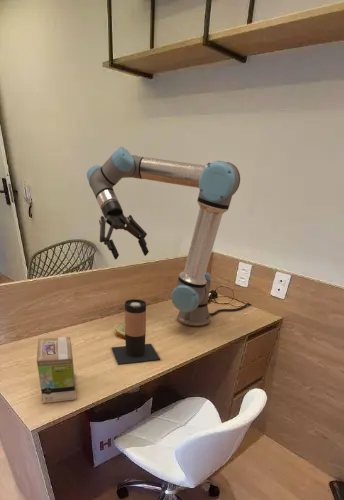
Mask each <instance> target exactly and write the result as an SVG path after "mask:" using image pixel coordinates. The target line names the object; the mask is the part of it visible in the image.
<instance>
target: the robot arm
mask: <svg viewBox="0 0 344 500" xmlns="http://www.w3.org/2000/svg"><path fill="white" fill-rule="evenodd" d="M86 178H87V181H88V184H89V187H90V188H91V190H92V192H93V195H94V197H95V199H96V201H97V204H98V206H99V208H100V210H101V213H102V215H101V216H100V218H99V220H98V223H99V242H100V243H103V244H104V245H105V246H106V247H107V249H108V251H110V252H111V254H112V256H113V258H114V260H117V259H118V258H119V256H120V254H119V251H118V250H117V247H116V245H115V242H114V241H113V239H111V237H112V235H113V231H114V230H115V231H117V230H123V231H126V232H128V233H129V234H130V235H132V236H133V237H134V238H136V239H137V242H138V245H139V247H140V249H141V251H142V253H143V256H145V257H146V256H147V255H148V254H149V253H150V251H149V249H148V246H147V245H148V243H147V242H146V239H145V238H146V237H147V235H148V233H147V232H146V230H144V228H143V227H141V226H140V224H138V223H137V221H136V220H135V219H134V218H133V216H132V215H131V214H128V216H125V215H124V211H123V208H122V206H121V203H120V201H119V199H118V197H117V195H116V192H115V191H114V187H115V186H116V185H117V184H118V183H119V182H120V181H122V179H125V178H131V179H139V180H146V181H154V182H158V183H165V184H171V185H177V186H183V187H184V186H185V187H189V188H190V187H191V188H198V189H199V191H198V196H197V201H196V202H197V204H198V206H199V210H198V213H197V218H196V221H195V226H194V230H193V234H192V237H191V241H190V246H189V249H188V252H187V257H186V261H185V264H184V265H185V266H184V269H183V271H181V272H179V274H178V278H177V282H176V286H175V287H174V289H173V290H172V292H171V297H170V299H171V302H172V304H173V306H174V307H175V309H177V310H178V314H177V321H178V322H179V323H180V324H182V325H184V326H188V327H194V328H196V327H197V328H198V327H205V326H207V325H209V324H210V321H211V320H210V319H211V316H214V315H216V314H218V313H220V312H235V311H239V310H242V309H244V308H246V307H247V306H252V304H251V303H250V302H247V303H245V304H244V305H242V306H240V307H237V308H219V309H217V310H215V311H214V312H210V311H209V307H208V306H209V305H208V304H209V298H210V297H209V296H210V290H211V289H210V288H211V282H212V275H211V274H210V273H209V272H207V269H208V267H209V266H208V265H209V262H210V259H211V256H212V253H213V249H214V246H215V241H216V238H217V234H218V232H219V228H220V224H221V220H222V218H223V215H224V213H226V212H227V211H229V208H230V205H231V202H232V199H233V196H234V195H235V194H236V192H237V191H238V190H239V188H240V184H241V174H240V171H239V169H238V167H237V166H236V165H235V164H234V163H231V162H229V161H224V160H216V161H212V162H207V163H206V164H205V165H203V164H199V163H198V164H197V163H191V162H183V161H176V160H168V159H162V158H156V157H155V158H154V157H147V156H139V155H137V154H135V155H134V154H132V153H130V151H129V150H128V149H127V148H126V147H124V146H120V147H118V148H117V149H116V150H115V151H114V152H112V153H111V155H110V156H109V157H108V159H107V160H106V161H105V162H104V163H103V164H102V165H100V164H95V165H93V166H92V167H90V168H88V170H87V172H86ZM106 224H108V225H109V228H108V230H107V234H106ZM249 303H250V304H249Z"/></svg>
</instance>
